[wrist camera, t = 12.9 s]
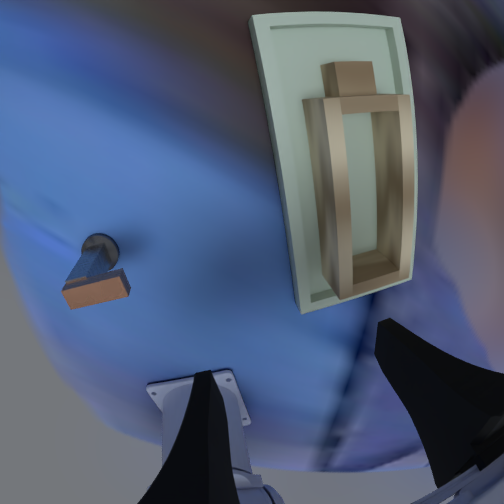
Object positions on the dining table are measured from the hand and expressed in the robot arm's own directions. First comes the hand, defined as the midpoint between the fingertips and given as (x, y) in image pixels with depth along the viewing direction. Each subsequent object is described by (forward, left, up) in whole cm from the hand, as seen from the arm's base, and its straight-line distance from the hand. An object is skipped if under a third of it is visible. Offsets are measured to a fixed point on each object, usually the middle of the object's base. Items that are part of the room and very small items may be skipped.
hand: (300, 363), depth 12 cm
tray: (+5, -7, -10) cm, 13 cm away
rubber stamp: (+3, +10, -10) cm, 14 cm away
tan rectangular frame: (+5, -7, -9) cm, 12 cm away
